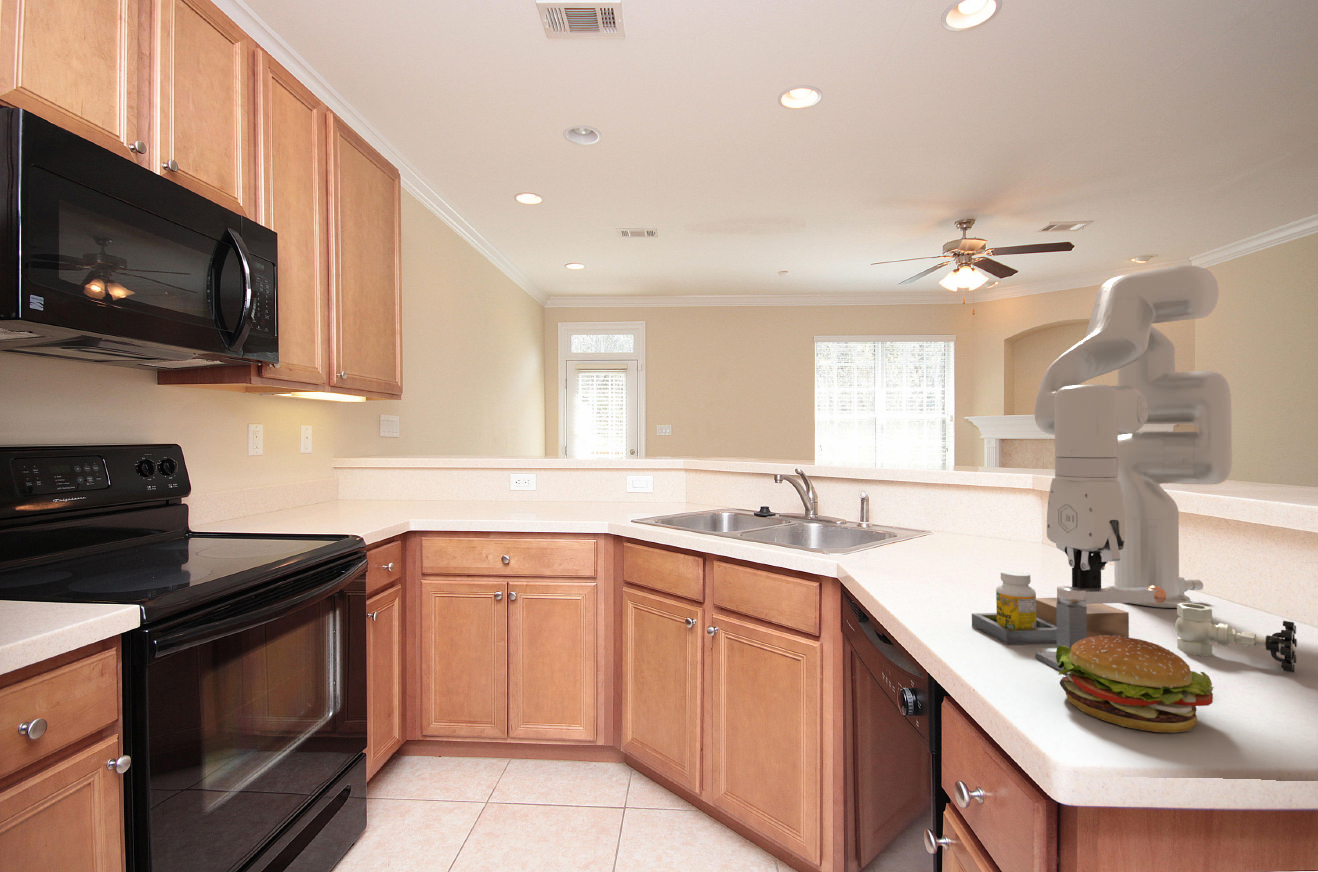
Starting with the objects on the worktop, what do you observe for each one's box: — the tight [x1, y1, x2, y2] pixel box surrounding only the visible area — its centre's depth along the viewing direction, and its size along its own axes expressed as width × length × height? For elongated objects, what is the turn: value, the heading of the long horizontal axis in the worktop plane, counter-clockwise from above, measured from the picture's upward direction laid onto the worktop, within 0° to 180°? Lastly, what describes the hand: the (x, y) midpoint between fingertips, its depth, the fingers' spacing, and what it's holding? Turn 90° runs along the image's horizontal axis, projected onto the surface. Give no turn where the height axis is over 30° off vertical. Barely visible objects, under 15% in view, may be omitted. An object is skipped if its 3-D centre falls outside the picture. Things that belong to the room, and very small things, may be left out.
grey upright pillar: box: [1034, 602, 1087, 676], centre depth 82 cm, size 6×6×8 cm
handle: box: [1056, 585, 1167, 607], centre depth 82 cm, size 15×3×2 cm, turn 93°
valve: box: [1174, 602, 1298, 674], centre depth 84 cm, size 7×7×12 cm
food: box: [1055, 635, 1215, 733], centre depth 68 cm, size 14×14×8 cm
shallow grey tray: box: [971, 612, 1057, 646], centre depth 95 cm, size 9×9×2 cm
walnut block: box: [1036, 597, 1130, 638], centre depth 96 cm, size 9×9×4 cm
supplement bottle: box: [995, 569, 1037, 629], centre depth 95 cm, size 5×5×10 cm
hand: (1086, 595), depth 88 cm, fingers closed
